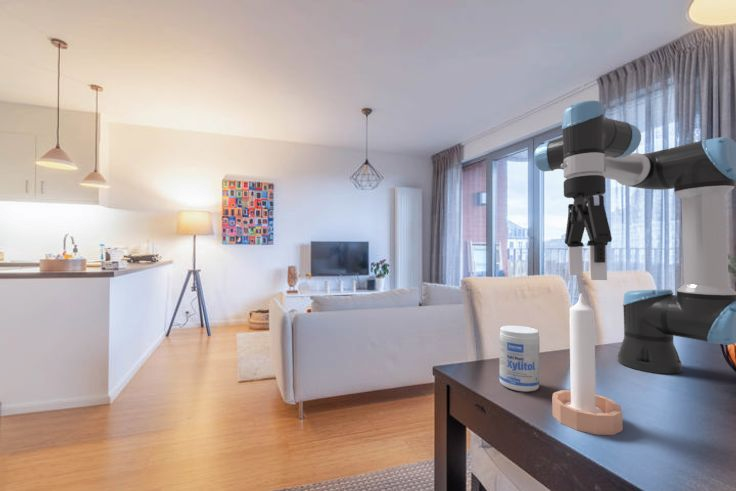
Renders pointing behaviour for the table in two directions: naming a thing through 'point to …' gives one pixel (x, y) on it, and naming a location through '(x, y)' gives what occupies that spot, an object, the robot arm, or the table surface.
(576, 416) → the jar dish
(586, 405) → the candle
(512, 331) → the supplement tub
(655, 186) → the robot arm
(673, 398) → the table surface
